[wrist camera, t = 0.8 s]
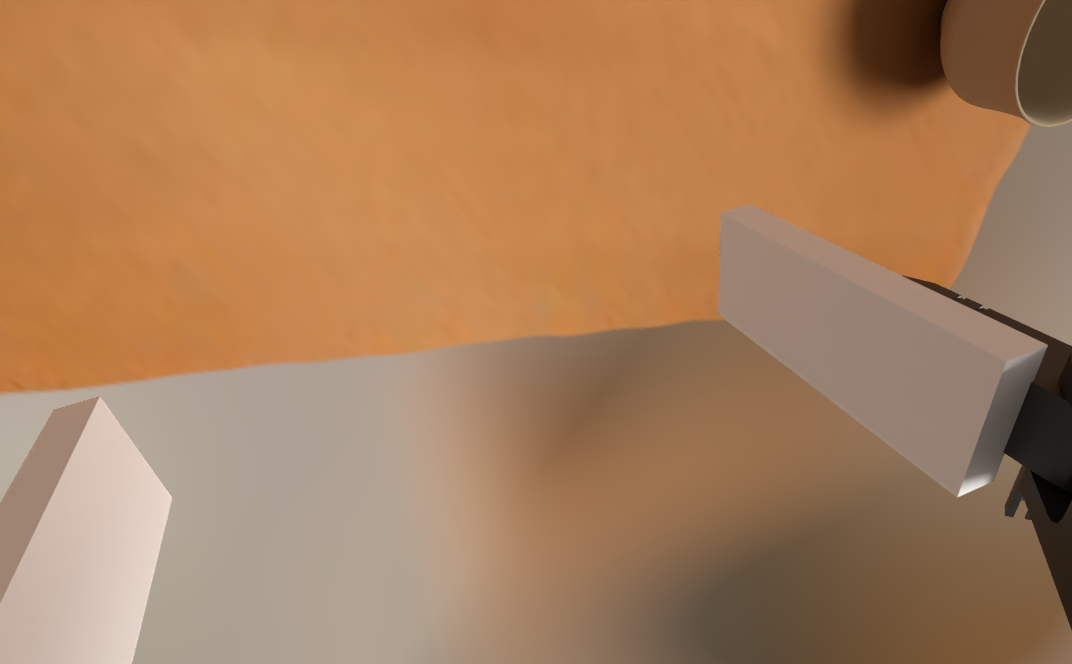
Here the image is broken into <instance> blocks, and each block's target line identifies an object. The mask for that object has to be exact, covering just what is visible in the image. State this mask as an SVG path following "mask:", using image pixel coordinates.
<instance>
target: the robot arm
mask: <svg viewBox="0 0 1072 664" xmlns="http://www.w3.org/2000/svg"><path fill="white" fill-rule="evenodd" d="M718 314H719V315H720V316H722V317H723V318H724V319H725V320H727V321H728V322H729V323H731V324H732V325H733V326H735V327H736V328H737V329H739V330H740V331H741V332H742V333H744V334H745V335H746V336H748V337H749V338H750V339H752V340H753V341H754V342H755V343H757V344H758V345H759V346H761V347H762V348H763V349H764V350H766V351H767V352H768V353H770V354H771V355H772V356H774V357H775V358H776V359H778V360H779V361H780V362H782V363H783V364H784V365H785V366H787V367H788V368H789V369H791V370H792V371H793V372H795V373H796V374H797V375H798V376H800V377H801V378H802V379H804V380H805V381H806V382H807V383H809V384H810V385H811V386H813V387H814V388H815V389H817V390H818V391H819V392H821V393H822V394H823V395H824V396H826V397H827V398H828V399H830V400H831V401H832V402H834V403H835V404H836V405H837V406H839V407H840V408H841V409H843V410H844V411H845V412H847V413H848V414H849V415H851V416H852V417H853V418H854V419H856V420H857V421H858V422H860V423H861V424H862V425H863V426H865V427H866V428H867V429H869V430H870V431H871V432H873V433H874V434H875V435H877V436H878V437H879V438H880V439H882V440H883V441H884V442H886V443H887V444H888V445H890V446H891V447H892V448H893V449H895V450H896V451H897V452H899V453H900V454H901V455H903V456H904V457H905V458H906V459H908V460H909V461H910V462H912V463H913V464H914V465H916V466H917V467H918V468H919V469H921V470H922V471H923V472H925V473H926V474H927V475H929V476H930V477H931V478H933V479H934V480H935V481H937V482H938V483H939V484H940V485H942V486H943V487H944V488H946V489H947V490H948V491H950V492H951V493H952V494H953V495H955V496H956V497H959V496H962V495H964V494H966V493H968V492H970V491H973V490H975V489H977V488H979V487H981V486H984V485H986V484H988V483H990V482H992V481H994V478H995V476H996V473H997V471H998V468H999V466H1000V463H1001V461H1002V458H1003V456H1004V454H1007V455H1008V456H1010V457H1011V458H1013V459H1014V460H1016V461H1018V462H1019V463H1020V464H1022V467H1021V469H1020V471H1019V474H1018V476H1017V478H1016V481H1015V483H1014V485H1013V488H1012V490H1011V492H1010V495H1009V497H1008V499H1007V502H1006V504H1005V516H1009V517H1013V516H1014V514H1015V512H1016V510H1017V507H1018V505H1019V503H1020V502H1021V501H1023V500H1025V503H1026V506H1027V509H1028V511H1027V514H1026V516H1025V519H1028V520H1032V522H1033V525H1034V528H1035V531H1036V533H1037V536H1038V539H1039V542H1040V544H1041V547H1042V550H1043V553H1044V555H1045V558H1046V561H1047V564H1048V566H1049V569H1050V572H1051V575H1052V577H1053V580H1054V583H1055V586H1056V588H1057V591H1058V594H1059V597H1060V599H1061V602H1062V605H1063V608H1064V610H1065V613H1066V616H1067V618H1068V621H1069V624H1070V627H1071V630H1072V346H1070V345H1068V344H1066V343H1063V342H1061V341H1059V340H1057V339H1055V338H1053V337H1050V336H1048V335H1046V334H1044V333H1042V332H1040V331H1037V330H1035V329H1033V328H1031V327H1029V326H1026V325H1024V324H1022V323H1020V322H1018V321H1016V320H1013V319H1011V318H1009V317H1007V316H1005V315H1003V314H1000V313H998V312H996V311H994V310H992V309H984V306H983V305H981V304H979V303H976V302H974V301H972V300H970V299H968V298H966V299H962V296H961V295H959V294H957V293H955V292H952V291H950V290H948V289H946V288H944V287H942V286H940V285H937V284H935V283H931V282H927V281H923V280H919V279H915V278H911V277H907V276H901V275H899V274H897V273H895V272H892V271H890V270H888V269H886V268H884V267H882V266H880V265H878V264H876V263H873V262H871V261H869V260H867V259H865V258H863V257H861V256H859V255H856V254H854V253H852V252H850V251H848V250H846V249H844V248H842V247H840V246H837V245H835V244H833V243H831V242H829V241H827V240H825V239H823V238H821V237H818V236H816V235H814V234H812V233H810V232H808V231H806V230H804V229H801V228H799V227H797V226H795V225H793V224H791V223H789V222H787V221H785V220H782V219H780V218H778V217H776V216H774V215H772V214H770V213H768V212H766V211H763V210H761V209H759V208H757V207H755V206H753V205H751V204H748V205H745V206H741V207H738V208H734V209H731V210H728V211H724V212H721V232H720V269H719V305H718ZM171 501H172V497H171V496H170V494H169V493H168V491H167V490H166V489H165V487H164V486H163V484H162V483H161V482H160V480H159V479H158V477H157V476H156V475H155V474H154V472H153V471H152V469H151V468H150V466H149V465H148V463H147V462H146V460H145V459H144V458H143V456H142V455H141V453H140V452H139V451H138V449H137V448H136V446H135V445H134V444H133V442H132V441H131V439H130V438H129V437H128V435H127V434H126V432H125V431H124V430H123V428H122V427H121V425H120V424H119V423H118V421H117V420H116V418H115V417H114V416H113V414H112V413H111V411H110V410H109V409H108V407H107V406H106V404H105V403H104V402H103V400H102V399H101V398H100V397H96V398H92V399H89V400H86V401H82V402H79V403H76V404H72V405H69V406H65V407H62V408H59V409H56V410H53V412H52V414H51V416H50V417H49V419H48V421H47V423H46V424H45V426H44V428H43V429H42V431H41V433H40V435H39V436H38V438H37V440H36V442H35V443H34V445H33V447H32V449H31V450H30V452H29V454H28V456H27V457H26V459H25V461H24V463H23V465H22V466H21V468H20V470H19V471H18V473H17V475H16V476H15V478H14V480H13V482H12V483H11V485H10V487H9V489H8V490H7V492H6V494H5V496H4V497H3V499H2V501H1V503H0V664H132V661H133V657H134V653H135V649H136V645H137V641H138V637H139V633H140V629H141V624H142V620H143V616H144V612H145V608H146V604H147V599H148V595H149V591H150V587H151V583H152V579H153V575H154V571H155V567H156V562H157V558H158V554H159V550H160V546H161V542H162V538H163V534H164V529H165V525H166V521H167V517H168V513H169V509H170V505H171Z"/></svg>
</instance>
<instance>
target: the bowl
mask: <svg viewBox="0 0 1072 664" xmlns="http://www.w3.org/2000/svg"><path fill="white" fill-rule="evenodd" d="M940 53H941V61H942V66H943V70H944V73H945V75H946V77H947V80H948V82H949V84H950V86H951V87H952V89H953V90H954V92H955V93H956V94H957V95H958V96H959V97H960V98H961V99H963V100H964V101H966V102H967V103H969V104H971V105H975V106H978V107H982V108H986V109H991V110H995V111H1000V112H1004V113H1008V114H1011V115H1015V116H1018V117H1020V118H1023V119H1024V120H1025V121H1027V122H1028V123H1030V124H1032V125H1035V126H1039V127H1052V126H1058V125H1061V124H1065V123H1068V122H1070V121H1072V0H947V2H946V5H945V8H944V10H943V14H942V19H941V43H940Z"/></svg>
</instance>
